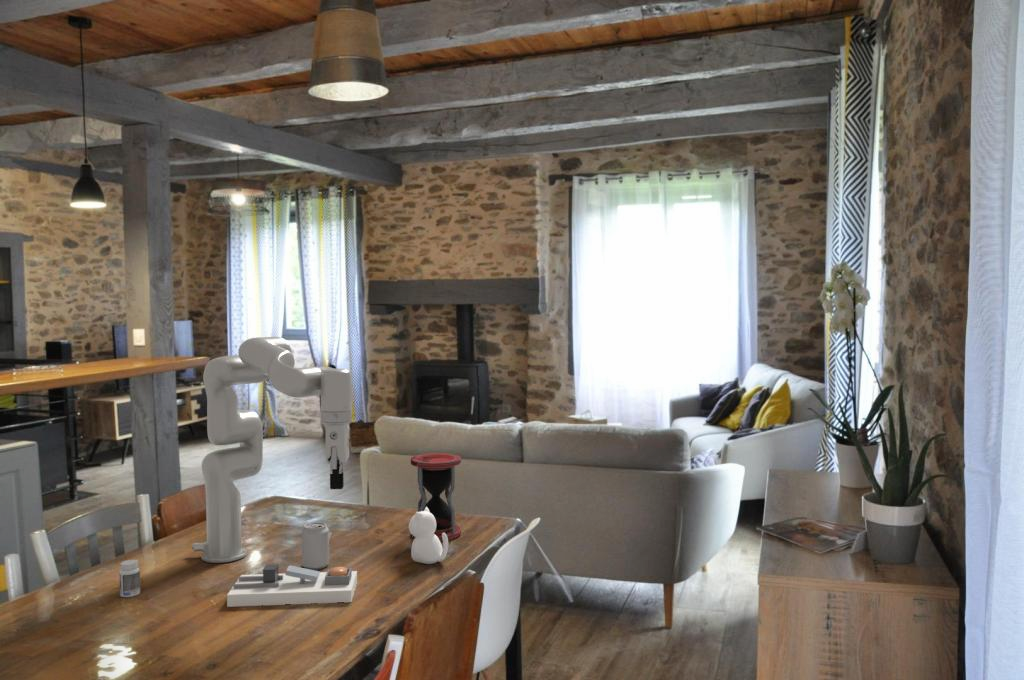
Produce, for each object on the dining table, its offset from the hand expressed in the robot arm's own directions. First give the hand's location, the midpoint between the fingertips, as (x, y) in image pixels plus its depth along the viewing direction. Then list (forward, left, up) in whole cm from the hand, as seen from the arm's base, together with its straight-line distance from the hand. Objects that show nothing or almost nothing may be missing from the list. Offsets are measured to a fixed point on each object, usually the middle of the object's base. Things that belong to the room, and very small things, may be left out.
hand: (336, 488), depth 197 cm
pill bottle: (-53, +4, -27) cm, 60 cm away
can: (-9, +21, -27) cm, 35 cm away
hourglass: (+25, +48, -27) cm, 61 cm away
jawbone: (-14, +45, -28) cm, 55 cm away
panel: (-11, 0, -27) cm, 29 cm away
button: (0, 0, -23) cm, 24 cm away
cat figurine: (+23, +22, -27) cm, 42 cm away
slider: (-17, 0, -24) cm, 29 cm away
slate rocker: (-9, 0, -22) cm, 23 cm away
